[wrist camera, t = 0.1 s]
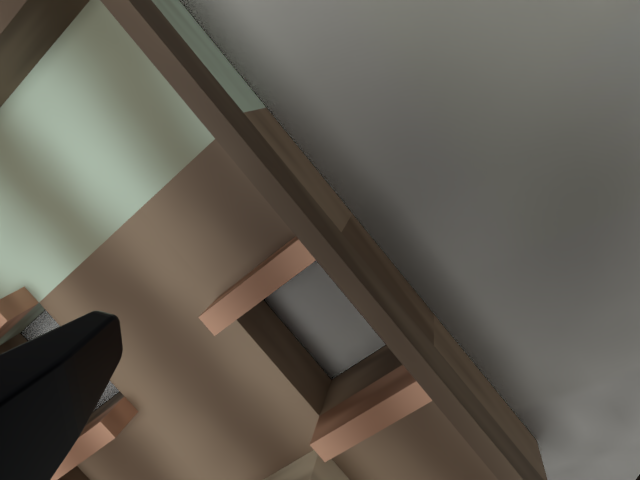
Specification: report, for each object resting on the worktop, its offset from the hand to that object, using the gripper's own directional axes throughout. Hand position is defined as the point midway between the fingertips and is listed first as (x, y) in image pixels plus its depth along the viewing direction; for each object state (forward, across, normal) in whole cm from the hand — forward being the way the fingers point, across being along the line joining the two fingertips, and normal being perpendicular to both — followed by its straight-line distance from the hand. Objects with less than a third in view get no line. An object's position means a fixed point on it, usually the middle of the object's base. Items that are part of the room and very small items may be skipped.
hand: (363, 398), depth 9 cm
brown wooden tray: (+13, +9, +12) cm, 20 cm away
